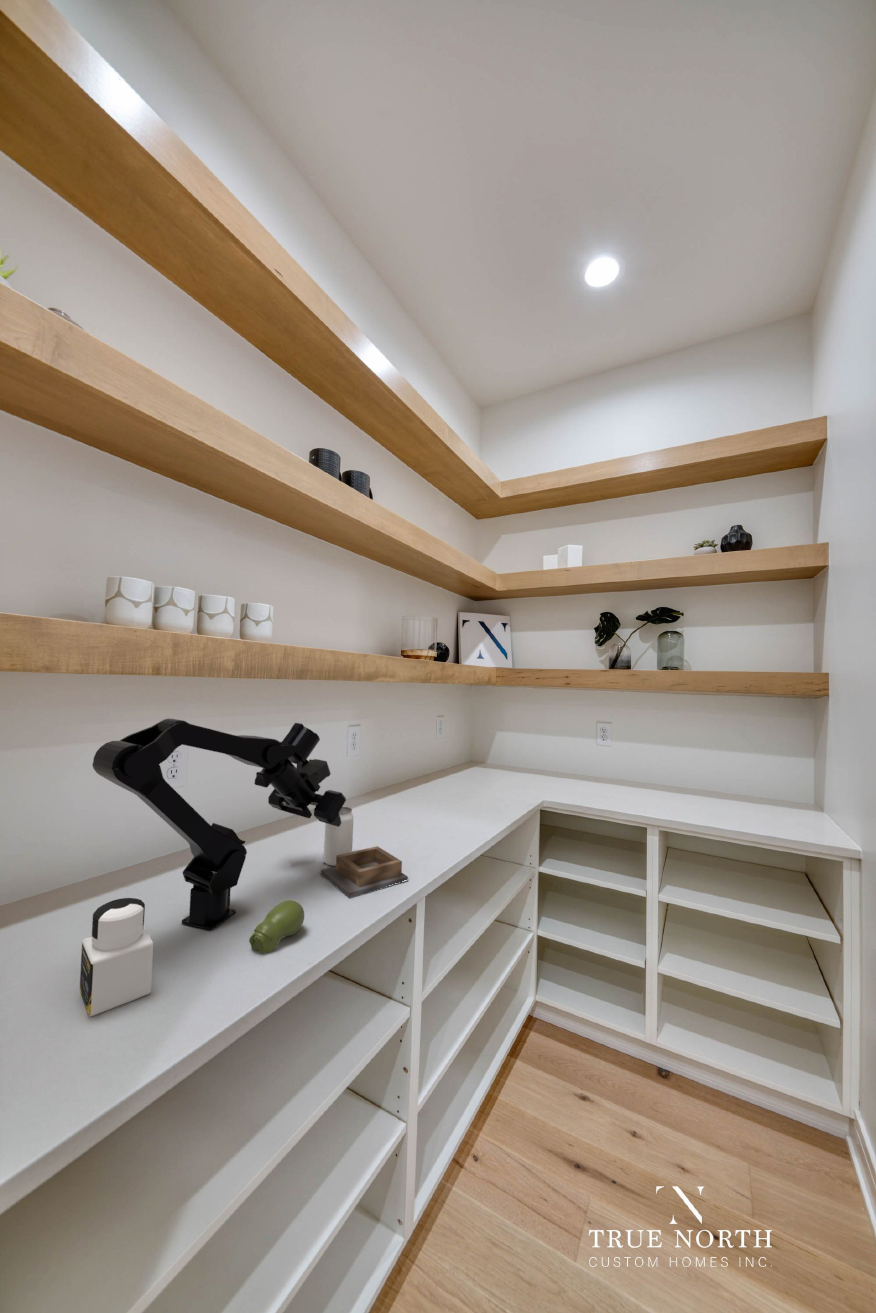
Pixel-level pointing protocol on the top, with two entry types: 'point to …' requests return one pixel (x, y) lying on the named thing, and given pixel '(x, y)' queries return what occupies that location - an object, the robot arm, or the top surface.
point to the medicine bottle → (116, 957)
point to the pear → (277, 926)
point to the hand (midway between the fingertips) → (324, 820)
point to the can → (338, 837)
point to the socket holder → (364, 871)
